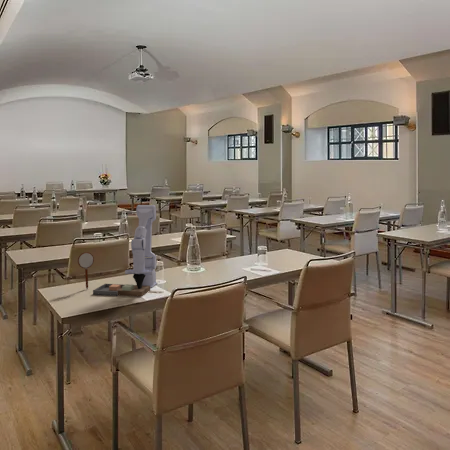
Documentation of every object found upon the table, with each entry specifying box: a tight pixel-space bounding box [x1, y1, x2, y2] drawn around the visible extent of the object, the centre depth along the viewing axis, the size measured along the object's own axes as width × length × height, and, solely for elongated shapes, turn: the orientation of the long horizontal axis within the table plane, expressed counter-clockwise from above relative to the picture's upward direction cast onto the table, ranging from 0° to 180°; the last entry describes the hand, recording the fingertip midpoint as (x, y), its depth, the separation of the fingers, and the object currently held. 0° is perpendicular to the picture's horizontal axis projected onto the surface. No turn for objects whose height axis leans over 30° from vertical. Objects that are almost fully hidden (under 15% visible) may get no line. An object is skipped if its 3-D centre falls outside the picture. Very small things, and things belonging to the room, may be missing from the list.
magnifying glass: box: [77, 251, 95, 290], centre depth 258 cm, size 9×2×20 cm, turn 126°
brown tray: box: [117, 284, 151, 298], centre depth 252 cm, size 12×13×2 cm
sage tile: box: [122, 283, 135, 291], centre depth 249 cm, size 4×4×2 cm
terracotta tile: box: [109, 283, 121, 291], centre depth 257 cm, size 4×4×2 cm
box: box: [92, 283, 125, 297], centre depth 255 cm, size 14×13×2 cm
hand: (139, 288), depth 248 cm, fingers closed
